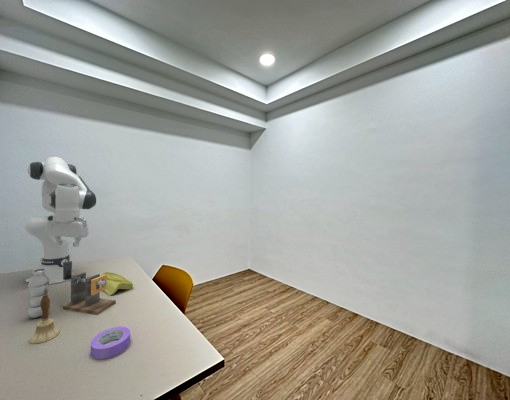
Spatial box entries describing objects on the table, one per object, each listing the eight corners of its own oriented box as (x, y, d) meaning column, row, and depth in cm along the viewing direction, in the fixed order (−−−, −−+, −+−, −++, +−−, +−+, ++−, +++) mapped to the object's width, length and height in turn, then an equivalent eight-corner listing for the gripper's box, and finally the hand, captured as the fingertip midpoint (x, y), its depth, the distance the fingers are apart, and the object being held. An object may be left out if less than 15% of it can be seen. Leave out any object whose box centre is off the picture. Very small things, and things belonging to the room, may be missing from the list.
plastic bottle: (53, 313, 95) (53, 268, 94) (33, 321, 89) (33, 274, 88) (44, 310, 97) (44, 266, 96) (24, 318, 91) (24, 271, 90)
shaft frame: (62, 309, 98) (62, 278, 98) (83, 298, 108) (83, 270, 108) (97, 314, 95) (97, 282, 94) (115, 303, 105) (116, 274, 104)
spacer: (90, 295, 97) (91, 280, 97) (104, 288, 104) (104, 274, 104) (93, 295, 97) (93, 280, 96) (106, 288, 104) (106, 274, 103)
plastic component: (135, 284, 121) (118, 282, 113) (128, 297, 119) (110, 296, 111) (118, 273, 132) (102, 271, 124) (112, 285, 130) (95, 283, 122)
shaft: (61, 281, 102) (61, 262, 102) (68, 278, 105) (68, 260, 105) (101, 286, 98) (101, 267, 98) (107, 283, 101) (107, 265, 101)
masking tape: (85, 363, 68) (85, 352, 68) (96, 340, 79) (96, 330, 79) (127, 354, 73) (127, 343, 73) (132, 333, 84) (132, 323, 84)
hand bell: (65, 331, 83) (65, 291, 83) (40, 345, 75) (40, 301, 75) (49, 327, 85) (49, 288, 85) (22, 341, 77) (22, 298, 76)
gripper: (92, 217, 104) (92, 245, 104) (58, 215, 107) (57, 242, 108) (79, 218, 98) (79, 248, 98) (43, 216, 101) (43, 245, 102)
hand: (67, 245), depth 103 cm, fingers open, 8 cm apart
